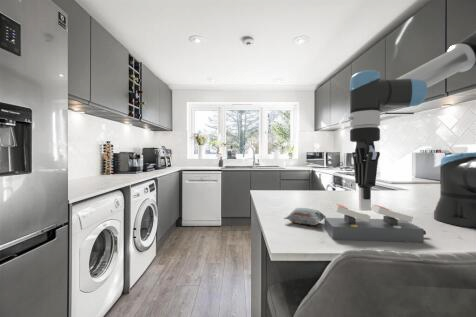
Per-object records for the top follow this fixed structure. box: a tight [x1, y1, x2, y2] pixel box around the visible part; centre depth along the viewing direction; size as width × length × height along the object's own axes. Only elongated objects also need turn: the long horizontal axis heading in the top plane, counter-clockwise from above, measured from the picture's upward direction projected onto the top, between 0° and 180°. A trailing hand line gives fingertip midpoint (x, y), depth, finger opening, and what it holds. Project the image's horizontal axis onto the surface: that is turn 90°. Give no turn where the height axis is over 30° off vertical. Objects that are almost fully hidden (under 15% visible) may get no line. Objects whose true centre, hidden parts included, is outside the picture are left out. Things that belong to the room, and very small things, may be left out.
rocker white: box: [371, 203, 414, 224], centre depth 67 cm, size 9×4×2 cm, turn 84°
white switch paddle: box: [332, 203, 371, 222], centre depth 68 cm, size 9×4×2 cm, turn 84°
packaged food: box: [283, 207, 327, 226], centre depth 79 cm, size 9×12×5 cm
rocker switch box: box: [323, 214, 427, 243], centre depth 67 cm, size 26×9×5 cm, turn 83°
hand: (364, 209), depth 68 cm, fingers closed
